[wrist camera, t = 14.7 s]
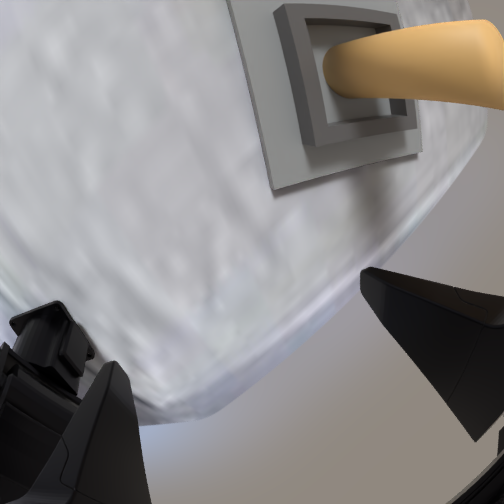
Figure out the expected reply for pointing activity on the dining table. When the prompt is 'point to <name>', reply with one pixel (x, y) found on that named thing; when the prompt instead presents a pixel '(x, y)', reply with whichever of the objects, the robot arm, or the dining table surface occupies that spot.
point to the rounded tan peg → (422, 64)
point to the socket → (317, 88)
